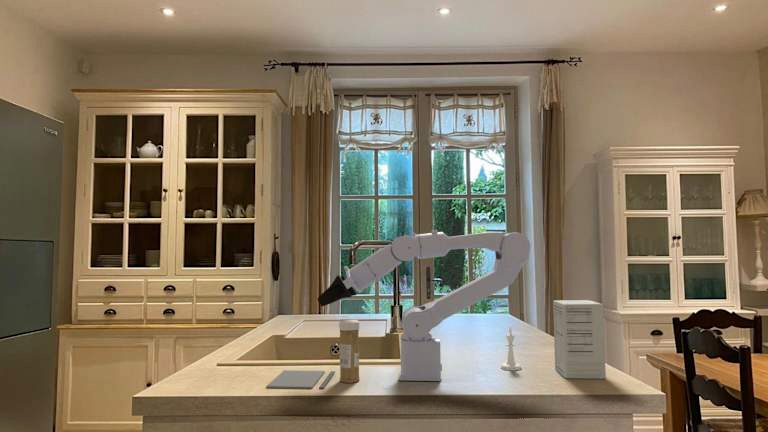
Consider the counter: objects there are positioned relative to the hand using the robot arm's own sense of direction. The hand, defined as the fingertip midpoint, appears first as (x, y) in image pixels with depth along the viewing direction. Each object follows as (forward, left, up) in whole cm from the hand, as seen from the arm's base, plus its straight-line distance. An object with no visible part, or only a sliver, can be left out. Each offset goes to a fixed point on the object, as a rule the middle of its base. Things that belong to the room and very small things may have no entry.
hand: (322, 301), depth 124 cm
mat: (+5, +2, -17) cm, 18 cm away
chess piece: (-45, -12, -18) cm, 49 cm away
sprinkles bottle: (-7, +3, -18) cm, 19 cm away
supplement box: (-60, -7, -18) cm, 63 cm away
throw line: (-2, +2, -17) cm, 18 cm away
